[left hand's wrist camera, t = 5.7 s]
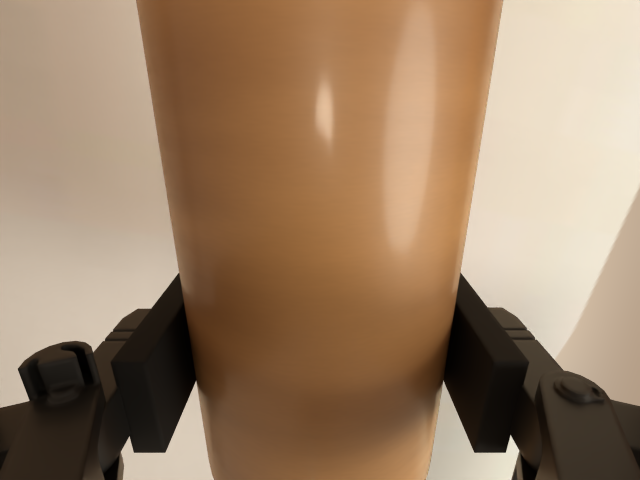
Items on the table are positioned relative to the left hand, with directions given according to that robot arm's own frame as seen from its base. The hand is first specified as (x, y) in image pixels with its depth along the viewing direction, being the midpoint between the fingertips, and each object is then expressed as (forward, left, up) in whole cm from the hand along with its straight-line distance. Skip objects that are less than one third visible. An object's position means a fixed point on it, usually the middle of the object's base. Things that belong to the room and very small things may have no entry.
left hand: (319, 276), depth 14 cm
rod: (+9, 0, 0) cm, 9 cm away
